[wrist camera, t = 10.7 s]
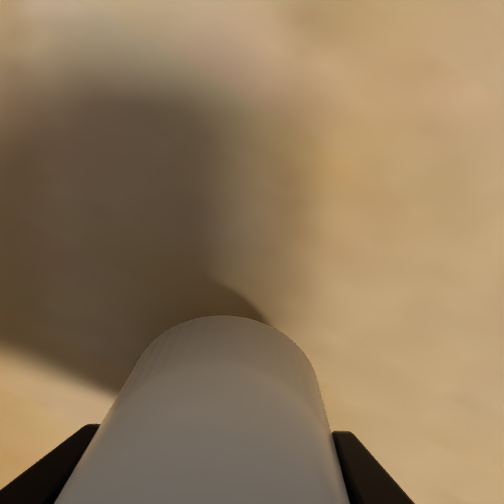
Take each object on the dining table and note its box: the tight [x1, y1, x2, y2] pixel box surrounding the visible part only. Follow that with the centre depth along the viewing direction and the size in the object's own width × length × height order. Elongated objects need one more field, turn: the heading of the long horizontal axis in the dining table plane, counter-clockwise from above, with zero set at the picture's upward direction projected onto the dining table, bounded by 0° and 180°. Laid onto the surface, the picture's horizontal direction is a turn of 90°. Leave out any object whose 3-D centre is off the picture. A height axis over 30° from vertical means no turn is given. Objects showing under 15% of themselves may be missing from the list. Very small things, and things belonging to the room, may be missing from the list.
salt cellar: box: [54, 315, 350, 504], centre depth 6 cm, size 5×5×5 cm
